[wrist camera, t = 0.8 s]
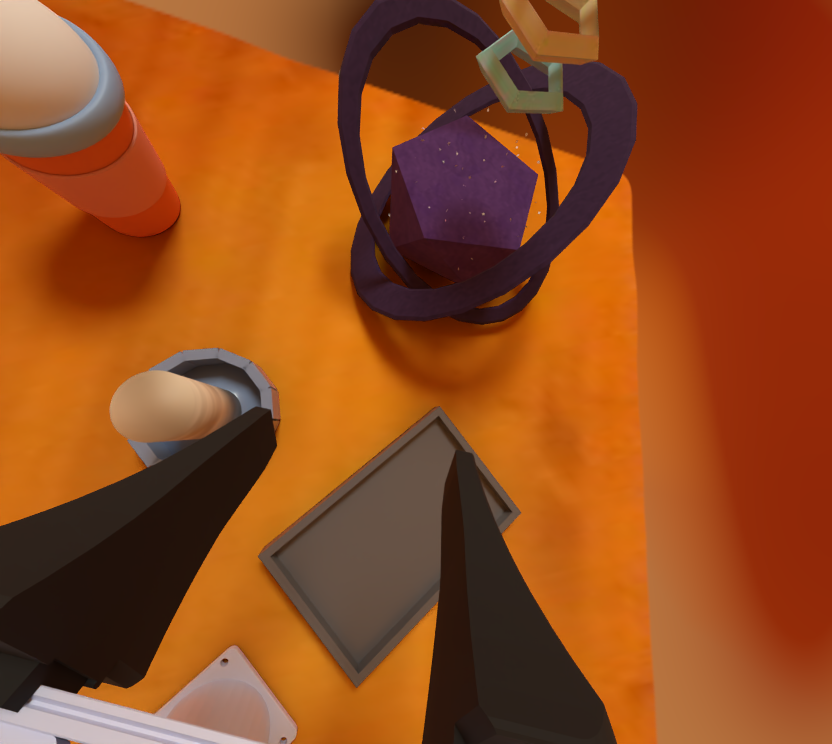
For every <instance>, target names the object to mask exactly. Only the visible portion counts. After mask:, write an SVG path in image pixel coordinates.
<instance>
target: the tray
mask: <svg viewBox="0 0 832 744" xmlns="http://www.w3.org/2000/svg"><path fill="white" fill-rule="evenodd" d="M456 450H460V451H465V452H470V453H472V454H473V455H474V458H475V462H476V466H477V470H478V473H479V477H480V480H481V483H482V486H483V489H484V492H485V495H486V497H487V500H488V503H489V505H490V508H491V511H492V513H493V516H494V518H495V521H496V523H497V526H498V528H499V530H500V532H501V534H502V533H503V532H504V530H505V529H506V528H507V527H508V526H509V525H510V524H511V523H512V522H513V521H514V520H515V519H516V518H517V517H518V516H519V515H520V513H521V512H520V510H519V509H518V508H517V507H516V505H515V504H514V503H513V501H512V500H511V499H510V497H509V496H508V495H507V493H506V492H505V491H504V490H503V488H502V487H501V486H500V484H499V483H498V482H497V480H496V479H495V478H494V477H493V475H492V474H491V473H490V471H489V470H488V469H487V467H486V466H485V465H484V463H483V462H482V461H481V460H480V458H479V457H478V456H477V454H476V453H475V452H474V450H473V449H472V448H471V447H470V445H469V444H468V443H467V441H466V440H465V439H464V437H463V436H462V435H461V433H460V432H459V431H458V430H457V428H456V427H455V426H454V424H453V423H452V422H451V420H450V419H449V418H448V417H447V415H446V414H445V413H444V411H443V410H442V409H441V407H440V406H438V407H434V408H433V409H432V410H431V411H429V412H428V413H427V414H426V415H424V416H423V417H422V418H421V419H420V420H418V421H417V422H416V423H415V424H414V425H412V426H411V427H410V428H409V429H407V430H406V431H405V432H404V433H403V434H401V435H400V436H399V437H398V438H396V439H395V440H394V441H393V442H392V443H390V444H389V445H388V446H387V447H386V448H384V449H383V450H382V451H381V452H379V453H378V454H377V455H376V456H375V457H373V458H372V459H371V460H370V461H368V462H367V463H366V464H365V465H364V466H362V467H361V468H360V469H359V470H358V471H356V472H355V473H354V474H353V475H351V476H350V477H349V478H348V479H347V480H345V481H344V482H343V483H342V484H340V485H339V486H338V487H337V488H336V489H334V490H333V491H332V492H331V493H330V494H328V495H327V496H326V497H325V498H323V499H322V500H321V501H320V502H319V503H317V504H316V505H315V506H314V507H312V508H311V509H310V510H309V511H308V512H306V513H305V514H304V515H303V516H301V517H300V518H299V519H298V520H297V521H295V522H294V523H293V524H292V525H291V526H289V527H288V528H287V529H286V530H284V531H283V532H282V533H281V534H280V535H278V536H277V537H276V538H275V539H273V540H272V541H271V542H270V543H269V544H267V545H266V546H265V547H264V548H263V550H262V551H261V552H260V554H259V555H258V557H259V558H260V560H261V561H262V562H263V564H264V565H265V566H266V568H267V569H268V570H269V572H270V573H271V574H272V576H273V577H274V578H275V580H276V581H277V582H278V584H279V585H280V586H281V588H282V589H283V590H284V592H285V593H286V594H287V596H288V597H289V598H290V600H291V601H292V602H293V604H294V605H295V606H296V608H297V609H298V610H299V612H300V613H301V614H302V616H303V617H304V618H305V620H306V621H307V622H308V624H309V625H310V626H311V628H312V629H313V630H314V632H315V633H316V634H317V636H318V637H319V638H320V640H321V641H322V642H323V644H324V645H325V646H326V648H327V649H328V650H329V652H330V653H331V654H332V656H333V657H334V658H335V660H336V661H337V662H338V664H339V665H340V666H341V668H342V669H343V670H344V672H345V673H346V674H347V676H348V677H349V678H350V680H351V681H352V682H353V684H354V685H355V686H356V688H357V687H358V686H359V685H360V684H361V683H362V682H363V681H364V679H365V678H366V677H367V676H368V675H369V674H370V673H371V672H372V671H373V670H374V669H375V668H376V667H377V666H378V665H379V664H380V662H381V661H382V660H383V659H384V658H385V657H386V656H387V655H388V654H389V653H390V652H391V651H392V650H393V649H394V648H395V646H396V645H397V644H398V643H399V642H400V641H401V640H402V639H403V638H404V637H405V636H406V635H407V634H408V633H409V632H410V631H411V629H412V628H413V627H414V626H415V625H416V624H417V623H418V622H419V621H420V620H421V619H422V618H423V617H424V616H425V615H426V613H427V612H428V611H429V610H430V609H431V608H432V607H433V606H434V605H435V604H436V603H437V602H438V601H439V590H440V574H441V514H442V502H443V493H444V485H445V481H446V478H447V475H448V472H449V469H450V466H451V463H452V460H453V457H454V454H455V451H456Z"/></svg>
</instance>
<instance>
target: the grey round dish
mask: <svg viewBox="0 0 832 744" xmlns="http://www.w3.org/2000/svg"><path fill="white" fill-rule="evenodd" d="M154 370H160V371H167V372H171V373H174V374H177V375H180V376H183V377H187V378H190V379H193V380H196V381H199V382H203V383H206V384H209V385H212V386H215V387H218V388H222V389H225V390H228V391H230V392H231V393H233V394H234V395H235V396H236V397H237V398H238V400H239V401H240V404H241V408H242V414H244V413H245V412H247V411H249V410H250V409H252V408H254V407H255V406H257V407H262V408H267V409H271V412H272V418H273V424H274V431H276V429H277V427H278V425H279V423H280V421H278V420H280V406H279V393H278V391H277V388H276V387H275V386H274V384H273V383H272V382H271V380H270V379H269V378H268V377H267V375H266V374H265V373H264V371H263V370H262V369H261V368H260V367H259V366H258V365H256V364H255V363H253V362H252V361H250V360H248V359H245V358H243V357H240V356H238V355H236V354H233V353H231V352H228V351H226V350H223V349H221V348H220V349H219V348H211V349H198V350H185V351H183V352H178V353H177V354H175V355H173V356H172V357H170V358H168V359H166V360H165V361H163V362H161V363H159V364H158V365H156V366H154V367H152V368H151V369H149V371H154ZM242 414H241V415H242ZM199 440H201V439H193V440H179V441H165V442H151V443H142V442H136V441H133V440H130V439H128V440H127V441H128V442H129V443H130V445H131V446H132V447H133V449H134V450H135V451H136V453H137V454H138V455H139V457H140V458H141V459H142V461H143V462H144V463H145V465H146V466H147V467H150V466H152V465H154V464H156V463H158V462H160V461H162V460H164V459H166V458H168V457H170V456H172V455H173V454H175V453H177V452H179V451H181V450H183V449H184V448H186V447H188V446H190V445H192V444H193V443H195V442H197V441H199Z"/></svg>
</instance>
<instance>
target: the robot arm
mask: <svg viewBox="0 0 832 744" xmlns="http://www.w3.org/2000/svg"><path fill="white" fill-rule="evenodd" d="M276 447H277V443H276V437H275V431H274V424H273V418H272V412H271V409H267V408H262V407H257V406H255V407H254V408H252V409H250V410H249V411H247V412H245V413H244V414H242V415H240V416H239V417H237V418H235V419H234V420H232V421H231V422H229V423H227V424H226V425H224V426H222V427H221V428H219V429H217V430H216V431H214V432H212V433H211V434H209V435H207V436H206V437H204V438H202V439H201V440H199V441H197V442H195V443H193V444H192V445H190V446H188V447H186V448H184V449H183V450H181V451H179V452H177V453H175V454H173V455H172V456H170V457H168V458H166V459H164V460H162V461H160V462H158V463H156V464H154V465H152V466H150V467H148V468H146V469H144V470H142V471H140V472H138V473H136V474H134V475H131V476H129V477H127V478H125V479H123V480H121V481H118V482H116V483H114V484H111V485H109V486H106V487H104V488H102V489H99V490H97V491H95V492H92V493H90V494H87V495H85V496H83V497H80V498H78V499H75V500H73V501H70V502H67V503H65V504H62V505H59V506H57V507H54V508H51V509H49V510H46V511H43V512H40V513H38V514H35V515H32V516H29V517H26V518H24V519H21V520H18V521H15V522H12V523H9V524H6V525H3V526H0V744H70V741H68V740H71V741H74V742H78V743H82V744H290V743H291V742H292V741H293V740H294V739H295V737H296V735H297V725H296V723H295V722H294V721H293V719H292V718H291V717H290V715H289V714H288V713H287V711H286V710H285V709H284V707H283V706H282V705H281V703H280V702H279V701H278V699H277V698H276V697H275V695H274V694H273V693H272V691H271V690H270V689H269V687H268V686H267V685H266V683H265V682H264V681H263V679H262V678H261V676H260V675H259V674H258V672H257V671H256V670H255V668H254V667H253V666H252V664H251V663H250V662H249V660H248V659H247V658H246V656H245V655H244V654H243V652H242V651H241V650H240V648H239V647H238V646H235V645H233V646H230V647H229V648H228V649H226V650H225V651H224V652H223V653H222V654H221V655H220V656H219V657H218V658H216V659H215V660H214V661H213V662H212V663H211V664H210V665H209V666H207V667H206V668H205V669H204V670H203V671H202V672H201V673H200V674H198V675H197V676H196V677H195V678H194V679H193V680H192V681H191V682H189V683H188V684H187V685H186V686H185V687H184V688H183V689H182V690H180V691H179V692H178V693H177V694H176V695H175V696H174V697H173V698H171V699H170V700H169V701H168V702H167V703H166V704H165V705H164V706H163V707H161V708H160V709H159V710H158V711H157V712H156V713H155V714H151V713H147V712H143V711H139V710H135V709H131V708H128V707H124V706H120V705H116V704H112V703H108V702H105V701H101V700H97V699H93V698H89V697H85V696H82V695H78V694H77V693H78V691H79V690H80V689H81V687H82V686H85V687H89V688H93V689H96V688H98V687H99V686H100V684H101V683H102V682H103V683H107V684H111V685H115V686H119V687H123V688H129V687H131V686H133V685H134V684H136V683H138V682H139V681H140V680H142V679H143V678H144V677H145V675H146V673H147V671H148V668H149V666H150V664H151V662H152V660H153V658H154V656H155V654H156V652H157V650H158V648H159V645H160V643H161V641H162V639H163V637H164V635H165V633H166V631H167V629H168V627H169V625H170V623H171V621H172V619H173V617H174V615H175V613H176V611H177V609H178V608H179V606H180V604H181V602H182V600H183V598H184V596H185V594H186V592H187V590H188V588H189V587H190V585H191V583H192V581H193V579H194V578H195V576H196V574H197V572H198V570H199V569H200V567H201V565H202V563H203V561H204V560H205V558H206V556H207V554H208V553H209V551H210V549H211V548H212V546H213V544H214V542H215V541H216V539H217V537H218V536H219V534H220V533H221V531H222V530H223V528H224V526H225V525H226V523H227V522H228V521H229V519H230V518H231V516H232V515H233V514H234V512H235V511H236V509H237V508H238V506H239V505H240V504H241V502H242V501H243V499H244V498H245V497H246V495H247V494H248V492H249V491H250V490H251V488H252V487H253V485H254V484H255V482H256V481H257V480H258V478H259V477H260V475H261V474H262V472H263V471H264V469H265V467H266V466H267V464H268V462H269V460H270V458H271V456H272V455H273V453H274V451H275V449H276ZM224 658H226V659H228V662H227V663H224V662H223V660H222V659H224ZM282 737H285V738H287V739H286V740H284V741H282V740H281V738H282ZM422 744H617V742H616V739H615V736H614V733H613V729H612V726H611V724H610V721H609V718H608V715H607V712H606V709H605V706H604V704H603V702H602V701H601V699H600V698H599V696H598V695H597V694H596V692H595V691H594V689H593V688H592V687H591V685H590V684H589V682H588V681H587V679H586V678H585V677H584V675H583V674H582V672H581V671H580V669H579V668H578V666H577V665H576V663H575V662H574V661H573V659H572V658H571V656H570V655H569V653H568V652H567V650H566V649H565V647H564V645H563V644H562V642H561V641H560V639H559V638H558V636H557V635H556V633H555V632H554V630H553V629H552V627H551V625H550V624H549V622H548V620H547V619H546V617H545V615H544V614H543V612H542V610H541V609H540V607H539V605H538V604H537V602H536V600H535V599H534V597H533V595H532V594H531V592H530V590H529V588H528V586H527V585H526V583H525V581H524V579H523V577H522V575H521V574H520V572H519V570H518V568H517V566H516V564H515V562H514V560H513V558H512V556H511V554H510V552H509V550H508V548H507V546H506V544H505V541H504V539H503V537H502V535H501V532H500V530H499V528H498V526H497V523H496V521H495V518H494V516H493V513H492V511H491V508H490V505H489V503H488V500H487V497H486V495H485V492H484V489H483V486H482V483H481V480H480V477H479V473H478V470H477V466H476V462H475V458H474V455H473V454H472V453H470V452H465V451H460V450H456V451H455V454H454V457H453V460H452V463H451V466H450V469H449V472H448V475H447V478H446V481H445V485H444V493H443V502H442V514H441V574H440V590H439V601H438V611H437V621H436V630H435V640H434V649H433V658H432V666H431V675H430V684H429V692H428V700H427V708H426V716H425V724H424V732H423V740H422Z"/></svg>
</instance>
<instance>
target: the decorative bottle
mask: <svg viewBox="0 0 832 744" xmlns="http://www.w3.org/2000/svg"><path fill="white" fill-rule="evenodd" d="M545 1H547V2H548V3H550V4H551V5H553V6H554V7H556V8H557V9H559V10H560V11H562V12H563V13H565V14H566V15H568V16H569V17H570V18H572V19H574V20H575V21H576V22H578V23H579V31H580V34H573V33H563V32H555V31H548V30H547V28H546V27H545V25H544V24H543V22H542V21H541V19H540V18H539V16H538V15H537V13H536V11H535V10H534V8H533V7H532V5H531V4H530V2H529V1H528V0H499V2H500V6H501V9H502V13H503V15H504V17H505V18H506V20H507V22H508V23H509V25H510V26H511V28H512V29H513V30H511V31H510V32H508V33H507V34H506V35H504V36H503V37H501V38H499V37H498V36H497V35H496V34H495V33H494V32H493V31H492V30H491V28H490V27H489V26H488V25H487V24H486V23H485V22H484V21H483V20H482V18H480V16H479V15H478V14H477V13H475V12H473V11H472V10H470V9H469V8H467V7H466V6H464V5H462V4H460V3H459V2H457V1H456V0H375V1H374V2H373V4H372V5H371V6H370V7H369V9H368V10H367V11H366V13H365V14H364V15H363V16H362V18H361V19H360V20H359V21H358V23H357V24H356V25H355V27H354V28H353V29H352V32H351V35H350V38H349V41H348V45H347V48H346V51H345V55H344V58H343V62H342V65H341V68H340V72H339V91H338V128H339V134H340V140H341V146H342V151H343V157H344V163H345V169H346V174H347V177H348V180H349V182H350V185H351V188H352V191H353V194H354V196H355V199H356V202H357V205H358V207H359V210H360V213H361V218H360V220H359V222H358V225H357V228H356V232H355V236H354V240H353V244H352V248H351V276H352V279H353V282H354V285H355V288H356V291H357V294H358V295H359V296H360V297H361V298H362V299H363V301H364V302H365V303H366V304H367V305H368V306H369V307H370V308H371V309H372V310H373V311H376V312H378V313H380V314H383V315H385V316H387V317H390V318H392V319H394V320H412V321H428V320H433V319H437V318H442V317H447V316H449V317H452V318H454V319H456V320H458V321H462V322H468V323H474V324H480V325H484V324H490V323H495V322H501V321H504V320H506V319H508V318H509V317H511V316H513V315H515V314H516V313H518V312H520V311H522V309H523V308H524V307H525V306H526V305H527V304H528V303H529V302H530V301H531V300H532V298H533V297H534V296H535V295H536V294H537V292H538V290H539V288H540V287H541V285H542V283H543V281H544V279H545V277H546V275H547V273H548V271H549V267H550V264H551V262H552V261H553V260H554V259H555V258H556V257H557V256H558V255H559V254H560V253H561V252H562V251H563V250H564V249H565V248H566V247H567V246H568V245H569V244H570V243H571V242H572V241H573V240H574V239H575V238H576V237H577V236H578V235H579V234H580V233H581V232H582V231H584V230H585V229H586V228H587V227H588V226H589V224H590V223H591V221H592V220H593V219H594V217H595V216H596V214H597V213H598V211H599V210H600V209H601V207H602V206H603V204H604V203H605V202H606V200H607V199H608V197H609V196H610V194H611V193H612V192H613V190H614V189H615V187H616V186H617V185H618V183H619V181H620V179H621V176H622V174H623V171H624V168H625V166H626V163H627V161H628V158H629V156H630V153H631V151H632V148H633V146H634V143H635V141H636V121H637V102H636V100H635V98H634V96H633V94H632V92H631V90H630V88H629V86H628V84H627V82H626V80H625V78H624V77H623V76H621V75H619V74H618V73H616V72H615V71H613V70H611V69H610V68H608V67H607V66H605V65H604V64H602V63H599V62H592V61H595V60H597V59H598V45H599V30H598V11H597V0H545ZM417 24H423V25H431V26H439V27H447V28H449V29H451V30H452V31H454V32H456V33H457V34H459V35H461V36H463V37H464V38H466V39H468V40H469V41H471V42H473V43H475V44H476V45H477V46H478V47H479V48H480V49H481V50H482V52H481V53H480V54H478V55H477V56H476V58H477V61H478V64H479V67H480V69H481V72H482V74H483V75H484V77H485V78H486V80H487V82H488V83H489V84H488V85H486V86H485V87H483V88H481V89H479V90H477V91H476V92H474V93H472V94H470V95H468V96H467V97H465V98H464V99H462V100H461V101H460V102H459V103H457V104H456V105H454V106H453V107H452V108H450V109H449V110H448V111H446V112H445V113H444V114H442V115H441V116H440V117H438V118H437V119H436V120H434V121H433V122H432V123H431V124H430V125H429V126H428V127H427V128H426V129H425V130H424V131H423V132H422V133H421V134H420V135H419V136H418V137H416V138H413V139H411V140H409V141H406V142H404V143H402V144H400V145H397V146H395V147H393V149H392V165H391V167H390V168H389V169H388V170H387V172H386V173H385V175H384V176H383V178H382V180H381V181H380V183H379V184H378V186H377V187H376V189H375V190H374V192H373V194H371V191H370V188H369V185H368V182H367V179H366V175H365V168H364V161H363V155H362V148H361V142H360V115H361V95H362V91H363V88H364V85H365V82H366V79H367V76H368V73H369V69H370V66H371V63H372V60H373V58H374V57H375V56H376V55H377V53H378V52H379V51H380V50H381V48H382V47H383V46H384V45H385V43H386V42H387V41H388V40H389V38H390V37H391V36H392V35H393V34H396V33H398V32H400V31H403V30H405V29H407V28H410V27H412V26H414V25H417ZM511 52H512V53H513V54H515V55H517V56H518V57H520V58H521V59H523V60H525V61H526V62H528V63H529V64H531V65H532V66H530V67H528V68H525V69H522V70H521V69H520V68H519V66H518V64H517V63H516V61H515V59H514V58H513V56H512V54H511ZM563 96H564V97H566V98H567V99H568V100H570V101H571V102H573V103H574V104H575V105H576V106H578V107H579V108H580V109H581V111H582V114H583V116H584V119H585V121H586V124H587V127H588V140H587V152H586V157H585V160H584V162H583V164H582V167H581V169H580V172H579V174H578V177H577V179H576V182H575V184H574V186H573V187H572V189H571V190H570V192H569V193H568V195H567V196H566V198H565V199H564V200H563V202H562V203H561V205H560V206H559V200H558V186H557V173H556V167H555V162H554V158H553V153H552V149H551V144H550V140H549V135H548V131H547V127H546V125H545V122H544V120H543V117H542V113H543V114H551V113H555V112H560V111H563ZM497 102H501V104H502V105H503V107H504V108H505V110H506V112H507V113H526V116H527V118H528V121H529V123H530V126H531V128H532V131H533V133H534V135H535V138H536V142H537V146H538V150H539V154H540V158H541V162H542V167H543V171H544V177H545V189H546V200H547V215H546V223H545V224H544V225H543V226H542V227H541V228H540V229H539V230H538V231H537V232H536V233H535V234H534V235H533V236H532V237H531V238H530V239H529V240H528V241H527V242H526V243H525V244H524V245H523V246H521V247H520V245H521V241H522V237H523V233H524V229H525V227H527V226H525V225H526V221H527V217H528V213H529V209H530V205H531V201H532V197H533V193H534V189H535V185H536V181H537V177H538V174H537V173H535V172H534V171H533V170H532V169H531V168H529V167H528V166H527V165H526V164H525V163H524V162H522V161H521V160H520V159H519V158H518V157H516V156H515V155H514V154H513V153H512V152H510V151H509V150H508V149H507V148H506V147H504V146H503V145H502V144H501V143H500V142H498V141H497V140H496V139H495V138H494V137H492V136H491V135H490V134H489V133H488V132H486V131H485V130H484V129H483V128H482V127H480V126H479V125H478V124H477V123H476V122H474V121H473V120H472V119H471V118H470V117H469V116H471V115H473V114H475V113H477V112H479V111H481V110H482V109H484V108H486V107H488V106H490V105H492V104H494V103H497ZM487 111H489V109H488V110H487ZM526 135H527V133H526ZM517 142H518V140H517V141H516V143H517ZM516 148H518V147H516ZM517 156H519V154H518V155H517ZM539 162H540V161H539V160H538V163H539ZM538 163H537V164H538ZM390 195H391V203H390V215H388V216H390V230H389V234H388V232H387V230H386V228H385V227H384V225H383V223H382V221H381V219H380V215H381V213H382V211H383V209H384V206H385V204H386V202H387V200H388V198H389V196H390ZM539 214H540V212H539ZM375 242H376V244H377V246H378V248H379V249H380V251H381V253H382V255H383V257H384V258H385V260H386V261H387V262H388V263H389V265H390V266H391V267H392V268H393V269H394V271H395V272H396V273H397V274H398V276H399V277H400V278H401V279H402V280H403V282H404V283H405V284H406V285H407V287H408V288H406V287H403V286H400V285H397V284H394V283H393V282H392V281H390V280H389V279H388V278H387V277H386V276H385V275H384V274H383V273H382V272H381V270H380V268H379V265H378V263H377V260H376V258H375ZM401 255H402V256H404V257H406V258H408V259H410V260H412V261H414V262H416V263H418V264H420V265H422V266H424V267H426V268H427V269H429V270H431V271H433V272H435V273H437V274H439V275H441V276H443V277H445V278H447V279H449V280H451V281H453V282H455V284H451V285H448V286H444V287H440V288H436V289H432V288H431V287H430V286H429V285H427V284H426V283H425V282H424V281H423V280H422V279H421V278H419V277H418V276H417V275H416V274H415V272H414V271H413V270H412V268H411V267H410V266H409V265H408V263H407V262H406V261H405V259H404V258H403V257H402V256H401ZM529 277H531V278H530V280H529V282H528V283H527V284H526V285H525V286H524V287H523V288H522V289H521V291H520V292H519V293H518V294H517V295H516V296H515V297H514V298H512V299H510V300H508V301H506V302H505V303H503V304H501V305H499V306H495V307H488V308H482V309H479V308H475V307H477V306H479V305H482V304H484V303H486V302H488V301H491V300H493V299H495V298H497V297H500V296H502V295H504V294H506V293H507V292H509V291H510V290H512V289H513V288H515V287H516V286H518V285H519V284H520V283H522V282H523V281H525V280H526V279H528V278H529Z"/></svg>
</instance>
